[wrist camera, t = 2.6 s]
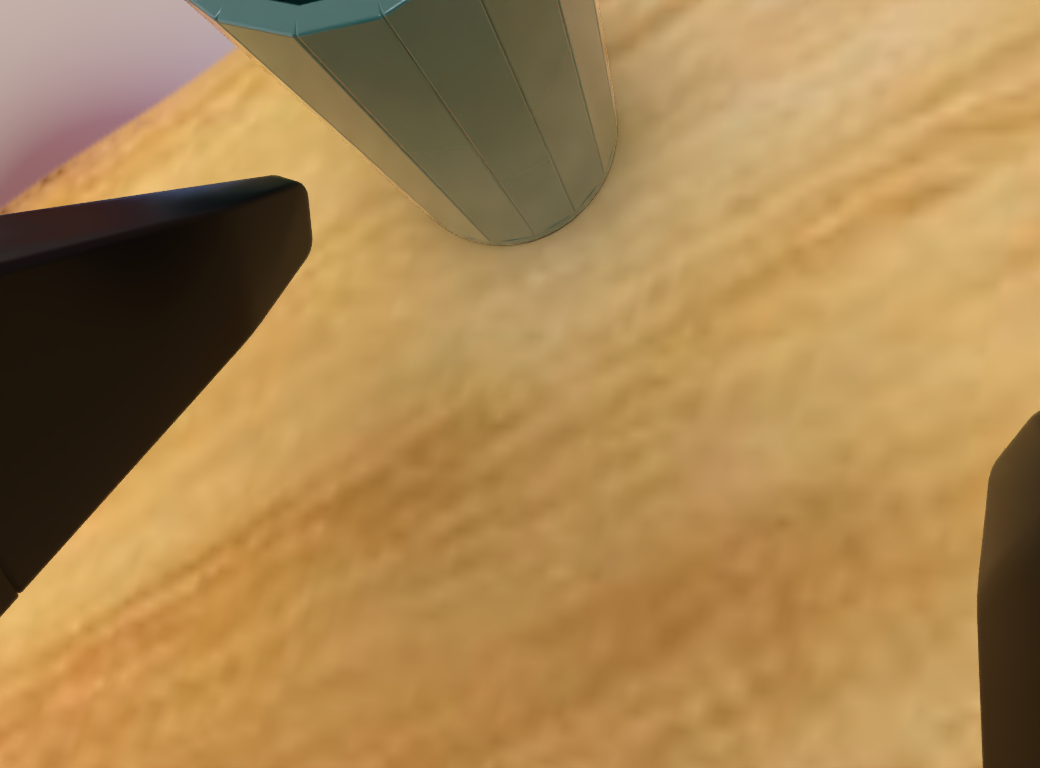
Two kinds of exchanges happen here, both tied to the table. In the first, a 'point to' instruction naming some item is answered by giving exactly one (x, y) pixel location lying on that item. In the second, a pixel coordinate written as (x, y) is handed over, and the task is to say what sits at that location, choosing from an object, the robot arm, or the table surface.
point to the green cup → (450, 98)
